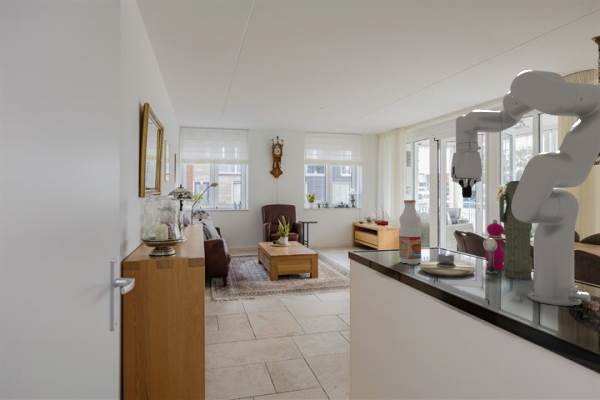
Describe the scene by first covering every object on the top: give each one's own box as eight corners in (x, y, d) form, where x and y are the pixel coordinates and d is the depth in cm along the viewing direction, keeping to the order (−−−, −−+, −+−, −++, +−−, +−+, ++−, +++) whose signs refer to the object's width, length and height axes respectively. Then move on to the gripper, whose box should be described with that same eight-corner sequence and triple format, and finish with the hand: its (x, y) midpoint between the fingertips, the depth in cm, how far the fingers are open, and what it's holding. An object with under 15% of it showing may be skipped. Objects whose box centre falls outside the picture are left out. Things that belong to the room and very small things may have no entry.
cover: (456, 268, 139) (456, 256, 139) (437, 267, 141) (437, 255, 141) (454, 265, 145) (454, 253, 145) (436, 264, 147) (436, 253, 147)
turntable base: (478, 273, 140) (478, 271, 140) (449, 278, 132) (449, 276, 132) (443, 266, 154) (443, 264, 154) (415, 270, 146) (415, 268, 146)
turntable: (478, 276, 130) (478, 264, 130) (419, 273, 137) (419, 261, 137) (471, 265, 149) (471, 255, 149) (419, 263, 156) (419, 253, 156)
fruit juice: (402, 260, 170) (402, 199, 170) (423, 262, 165) (423, 199, 165) (396, 263, 162) (396, 200, 162) (418, 265, 157) (417, 200, 157)
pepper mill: (508, 268, 149) (508, 219, 149) (499, 270, 145) (499, 220, 144) (491, 266, 155) (491, 218, 154) (481, 268, 151) (481, 219, 150)
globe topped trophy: (500, 273, 139) (500, 238, 139) (494, 275, 137) (494, 239, 137) (488, 271, 144) (488, 237, 144) (482, 272, 142) (481, 237, 142)
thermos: (542, 279, 129) (542, 180, 129) (508, 280, 129) (508, 180, 129) (526, 274, 138) (526, 181, 138) (495, 274, 138) (494, 181, 138)
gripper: (480, 150, 142) (480, 197, 142) (442, 150, 141) (443, 197, 141) (491, 147, 135) (491, 197, 135) (452, 147, 134) (452, 198, 134)
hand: (466, 197), depth 138 cm, fingers closed
